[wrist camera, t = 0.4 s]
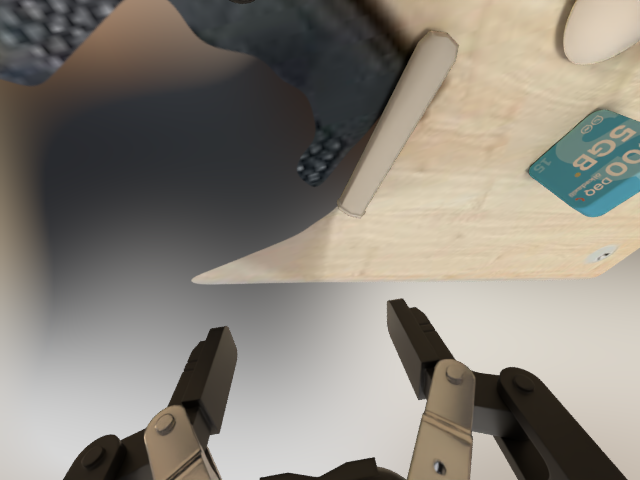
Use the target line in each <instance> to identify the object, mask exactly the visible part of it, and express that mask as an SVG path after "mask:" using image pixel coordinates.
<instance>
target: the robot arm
mask: <svg viewBox="0 0 640 480" xmlns="http://www.w3.org/2000/svg"><path fill="white" fill-rule="evenodd" d="M387 326H388V331H389V334H390V337H391V339H392V341H393V344H394V346H395V348H396V350H397V352H398V355H399V357H400V359H401V362H402V364H403V366H404V368H405V371H406V373H407V375H408V378H409V380H410V382H411V384H412V387H413V389H414V391H415V394H416V396H417V398H418V400H422V399H427V403H426V407H425V411H424V413H423V415H422V419H421V423H420V426H419V431H418V435H417V439H416V443H415V447H414V452H413V456H412V460H411V464H410V469H409V473H408V477H407V480H470V472H471V459H472V446H473V437H472V431H474V432H479V433H484V434H490V435H493V437H494V438H495V440H496V442H497V444H498V445H499V447H500V449H501V451H502V452H503V454H504V456H505V458H506V459H507V461H508V463H509V464H510V466H511V468H512V470H513V472H514V473H515V475H516V477H517V479H518V480H627V479H626V477H625V476H624V475H623V474H622V473H621V472H620V471H619V469H618V468H617V467H616V466H615V465H614V464H613V462H612V461H611V460H610V459H609V458H608V457H607V456H606V454H605V453H604V452H603V451H602V450H601V449H600V448H599V446H598V445H597V444H596V443H595V442H594V441H593V440H592V438H591V437H590V436H589V435H588V434H587V433H586V432H585V430H584V429H583V428H582V427H581V426H580V425H579V423H578V422H577V421H576V420H575V419H574V418H573V417H572V415H571V414H570V413H569V412H568V411H567V410H566V409H565V407H563V405H562V404H561V403H560V402H559V401H558V400H557V398H556V397H555V396H554V395H553V394H552V392H551V391H550V390H549V389H548V388H547V387H546V386H545V384H544V383H543V382H542V381H541V380H540V379H539V378H538V377H536V376H535V375H533V374H532V373H530V372H528V371H526V370H523V369H520V368H515V367H508V368H505V369H503V370H502V371H501V372H500V375H491V374H483V373H478V372H474V371H471V370H470V369H469V368H468V367H467V366H466V365H464V364H463V363H461V362H459V361H456V360H455V359H454V357H453V355H452V354H451V353H450V351H449V350H448V348H447V347H446V345H445V344H444V342H443V341H442V339H441V338H440V336H439V335H438V333H437V332H436V331H435V329H434V327H433V326H432V324H431V323H430V321H429V320H428V318H427V317H426V315H425V314H424V313H423V312H421V311H420V310H419V309H417V308H416V307H413V308H409V307H408V306H407V304H406V302H405V301H404V300H403V299H395V300H389V301H387ZM236 362H237V348H236V345H235V343H234V340H233V338H232V335H231V332H230V330H229V328H228V327H227V326H224V327H218V328H212V329H210V331H209V333H208V336H207V338H206V341H200V342H199V344H198V345H197V346H196V347H195V348H194V349H193V351H192V352H191V355H190V357H189V359H188V363H187V364H186V366H185V369H184V372H183V373H182V375H181V377H180V380H179V382H178V384H177V387H176V389H175V391H174V393H173V395H172V398H171V400H170V402H169V405H168V407H167V408H165V409H164V410H162V411H160V412H159V413H158V414H157V415H156V416H155V417H154V418H153V419H152V420H151V421H150V423H149V424H148V426H147V428H145V429H143V430H142V431H139V432H137V433H135V434H133V435H131V436H129V437H126V438H124V439H122V440H120V439H119V438H118V437H117V436H115V435H105V436H103V437H100V438H98V439H97V440H95V441H94V442H92V443H91V444H90V445H88V446H87V447H86V448H85V449H84V450H83V451H82V452H81V453H80V454H79V455H78V457H77V458H76V459H75V461H74V462H73V464H72V466H71V467H70V469H69V471H68V472H67V474H66V476H65V477H64V479H63V480H222V479H221V476H220V474H219V471H218V469H217V467H216V465H215V462H214V460H213V458H212V455H211V453H210V451H209V448H208V447H207V444H208V439H209V436H210V435H213V434H219V433H220V429H221V425H222V421H223V416H224V412H225V408H226V404H227V400H228V395H229V391H230V387H231V383H232V379H233V374H234V370H235V366H236ZM260 480H406V479H405V478H403V477H402V476H400V475H399V474H397V473H395V472H393V471H391V470H388V469H385V468H382V467H377V465H376V461H375V458H374V457H373V458H367V459H362V460H357V461H351V462H346V463H344V464H342V465H341V466H339V467H337V468H335V469H333V470H331V471H329V472H328V473H326V474H324V475H322V476H320V477H312V476H306V475H299V474H293V473H284V474H278V475H273V476H267V477H261V478H260Z"/></svg>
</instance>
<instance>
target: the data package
mask: <svg viewBox="0 0 640 480" xmlns="http://www.w3.org/2000/svg"><path fill="white" fill-rule="evenodd" d="M529 174H530V176H531V177H532V178H534V179H535V180H536V181H538V182H539V183H540V184H542V185H543V186H544V187H546V188H547V189H548V190H550V191H551V192H552V193H554V194H555V195H556V196H557V197H559V198H560V199H561V200H563V201H564V202H565V203H567V204H568V205H569V206H571V207H572V208H574V209H575V210H577V211H579V212H580V213H582V214H583V215H585V216H588V217H598V216H601V215H603V214H605V213H607V212H608V211H610V210H612V209H613V208H615V207H616V206H618V205H619V204H621V203H622V202H624V201H626V200H627V199H629V198H630V197H632V196H633V195H635V194H637V193H638V192H640V122H638V121H636V120H633V119H630V118H628V117H625V116H623V115H620V114H617V113H615V112H612V111H609V110H599V111H596V112H594V113H592V114H590V115H589V116H588V117H586V118H585V119H584V120H583V121H582V122H581V123H579V124H578V125H577V126H576V127H575V128H574V129H573V130H571V131H570V132H569V133H568V134H567V135H566V136H565V137H563V138H562V139H561V140H560V141H559V142H558V143H557V144H555V145H554V146H553V147H552V148H551V149H550V150H549V151H547V152H546V153H545V154H544V155H543V156H542V157H541V158H539V159H538V160H537V161H536V162H535V163H534V164H533V165H532V166H531V167H530V169H529Z"/></svg>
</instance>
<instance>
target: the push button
mask: <svg viewBox="0 0 640 480" xmlns="http://www.w3.org/2000/svg"><path fill="white" fill-rule="evenodd" d="M229 1H232V2H235V3H239V4H246V3H251V2H253V1H255V0H229Z"/></svg>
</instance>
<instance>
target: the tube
mask: <svg viewBox="0 0 640 480" xmlns="http://www.w3.org/2000/svg"><path fill="white" fill-rule="evenodd" d="M458 48H459V45H458V44H457V43H456V42H455V41H454V39H453V38H452V37H451V36H450V35H449V34H448V33H444V32H438V31H431V30H430V31H429V32H428V33H427V34H426V35H425V36H424V37H423V38H422V39H421V40H420V41H419V42H418V44H417V46H416V48H415V50H414V52H413V54H412V56H411V58H410V60H409V62H408V64H407V66H406V68H405V70H404V72H403V74H402V76H401V78H400V80H399V82H398V84H397V86H396V88H395V90H394V92H393V94H392V96H391V98H390V100H389V102H388V104H387V105H386V107H385V109H384V111H383V113H382V115H381V117H380V119H379V121H378V123H377V125H376V127H375V129H374V131H373V134H372V135H371V138H370V139H369V141H368V143H367V145H366V147H365V149H364V151H363V153H362V155H361V157H360V159H359V161H358V163H357V165H356V167H355V169H354V171H353V173H352V175H351V177H350V179H349V181H348V183H347V185H346V187H345V189H344V191H343V193H342V195H341V197H340V198H339V199H338V200H337V205H338V208H339V210H341V211H342V212H344V213H345V214H347V215H348V216H351V217H355V218H361V217H362V216H363V215H364V214H365V212H366V211H365V210H366V208H367V206H368V205H369V203H370V202H371V200H372V198H373V197H374V195H375V193H376V192H377V190H378V188H379V187H380V185H381V183H382V182H383V180H384V178H385V177H386V175H387V173H388V172H389V170H390V169H391V167H392V165H393V164H394V162H395V160H396V159H397V157H398V155H399V154H400V152H401V150H402V149H403V147H404V145H405V144H406V142H407V140H408V139H409V137H410V135H411V134H412V132H413V131H414V129H415V127H416V126H417V124H418V122H419V121H420V119H421V117H422V116H423V114H424V112H425V111H426V109H427V107H428V106H429V104H430V102H431V101H432V99H433V98H434V96H435V94H436V93H437V91H438V89H439V88H440V86H441V84H442V83H443V81H444V79H445V78H446V76H447V74H448V73H449V71H450V69H451V68H452V66H453V65H454V63H455V61H456V57H457V52H458Z"/></svg>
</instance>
